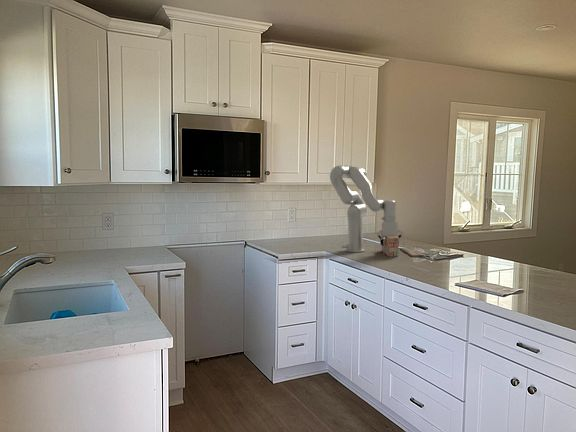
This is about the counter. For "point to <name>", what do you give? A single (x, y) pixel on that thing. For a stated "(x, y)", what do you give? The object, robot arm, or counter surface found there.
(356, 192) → the robot arm
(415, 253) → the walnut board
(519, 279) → the counter surface
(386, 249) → the cardboard product box
